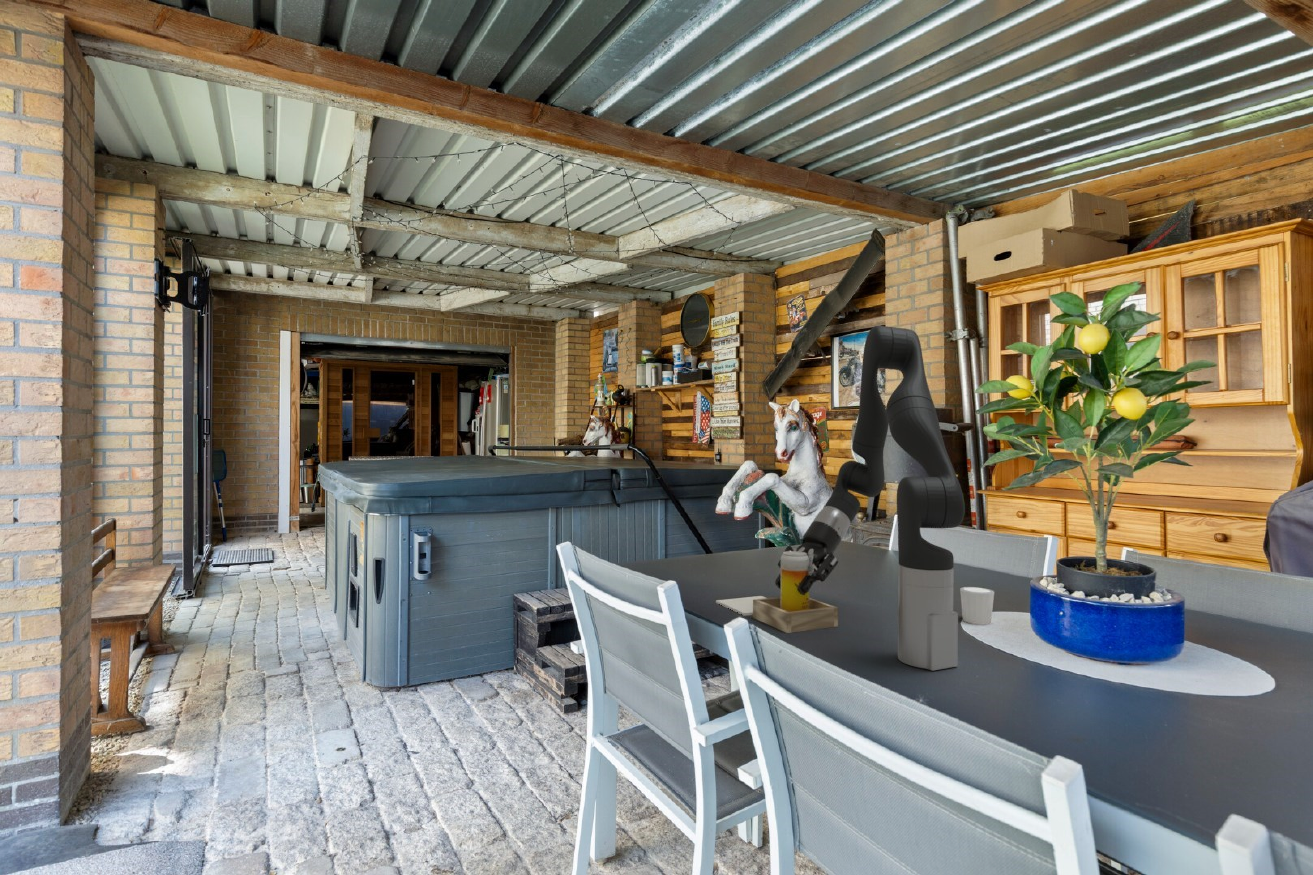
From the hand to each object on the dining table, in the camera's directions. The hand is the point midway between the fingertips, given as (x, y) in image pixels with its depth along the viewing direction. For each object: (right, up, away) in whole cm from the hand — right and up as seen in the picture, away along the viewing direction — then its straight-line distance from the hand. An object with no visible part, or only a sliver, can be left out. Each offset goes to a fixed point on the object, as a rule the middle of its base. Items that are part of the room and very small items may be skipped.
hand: (789, 589), depth 147 cm
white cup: (+42, -8, +3) cm, 43 cm away
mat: (-6, -7, +14) cm, 17 cm away
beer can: (+1, -8, +1) cm, 8 cm away
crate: (+1, -7, +1) cm, 8 cm away
